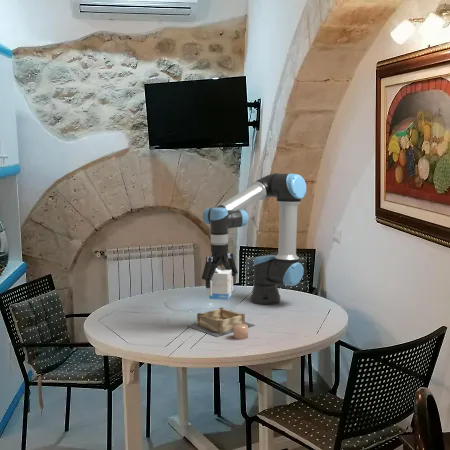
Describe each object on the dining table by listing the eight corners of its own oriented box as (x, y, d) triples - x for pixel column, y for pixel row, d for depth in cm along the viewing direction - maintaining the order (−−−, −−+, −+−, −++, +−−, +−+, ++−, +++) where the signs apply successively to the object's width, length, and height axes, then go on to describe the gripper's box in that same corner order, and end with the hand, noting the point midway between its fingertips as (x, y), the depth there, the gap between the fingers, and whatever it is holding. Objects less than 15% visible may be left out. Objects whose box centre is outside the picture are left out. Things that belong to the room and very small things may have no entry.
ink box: (227, 300, 260) (228, 270, 258) (208, 299, 262) (209, 268, 260) (231, 294, 269) (232, 265, 266) (213, 293, 270) (213, 264, 268)
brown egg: (241, 334, 256) (240, 322, 255) (250, 337, 252) (250, 325, 251) (230, 337, 252) (230, 325, 251) (240, 340, 248) (240, 328, 247)
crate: (224, 316, 282) (224, 304, 281) (254, 325, 267) (254, 313, 266) (187, 326, 267) (187, 314, 267) (217, 337, 253) (216, 324, 252)
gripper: (233, 239, 273) (234, 286, 276) (192, 245, 257) (193, 295, 260) (245, 241, 267) (245, 289, 270) (203, 248, 251) (204, 299, 254)
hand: (220, 292), depth 265 cm, fingers closed on ink box, 11 cm apart
